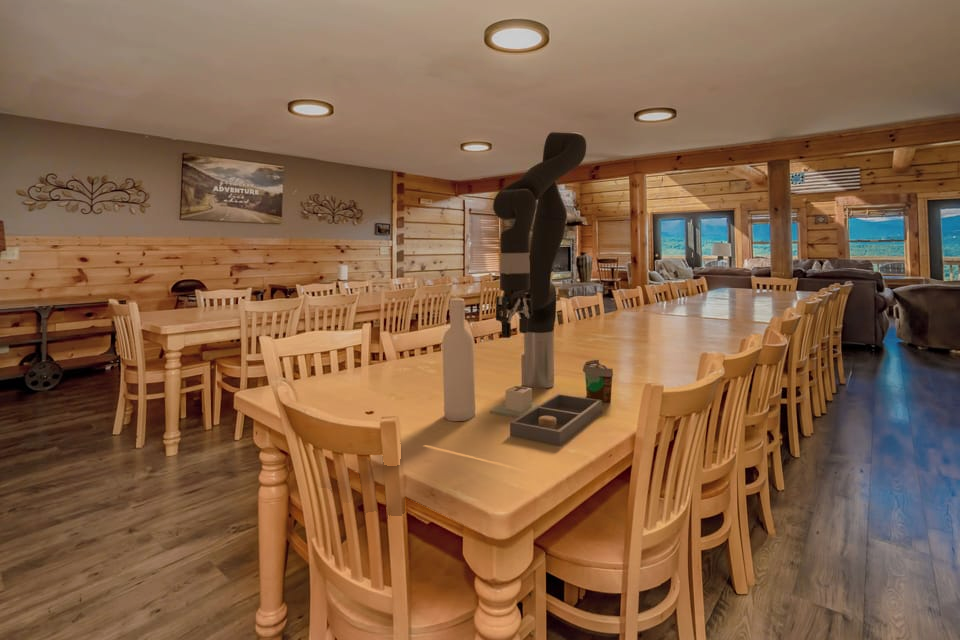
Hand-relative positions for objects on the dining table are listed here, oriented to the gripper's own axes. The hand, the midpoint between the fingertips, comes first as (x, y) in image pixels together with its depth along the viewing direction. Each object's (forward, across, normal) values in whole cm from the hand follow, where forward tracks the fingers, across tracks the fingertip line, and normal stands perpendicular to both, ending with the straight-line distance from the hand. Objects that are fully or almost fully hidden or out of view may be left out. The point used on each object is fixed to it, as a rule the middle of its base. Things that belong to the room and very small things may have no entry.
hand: (515, 335), depth 125 cm
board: (+20, 0, +1) cm, 20 cm away
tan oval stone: (+20, +10, +14) cm, 26 cm away
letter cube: (+19, 0, +1) cm, 19 cm away
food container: (+20, -21, +13) cm, 32 cm away
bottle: (+20, +11, -10) cm, 25 cm away
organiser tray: (+20, +3, +14) cm, 25 cm away
